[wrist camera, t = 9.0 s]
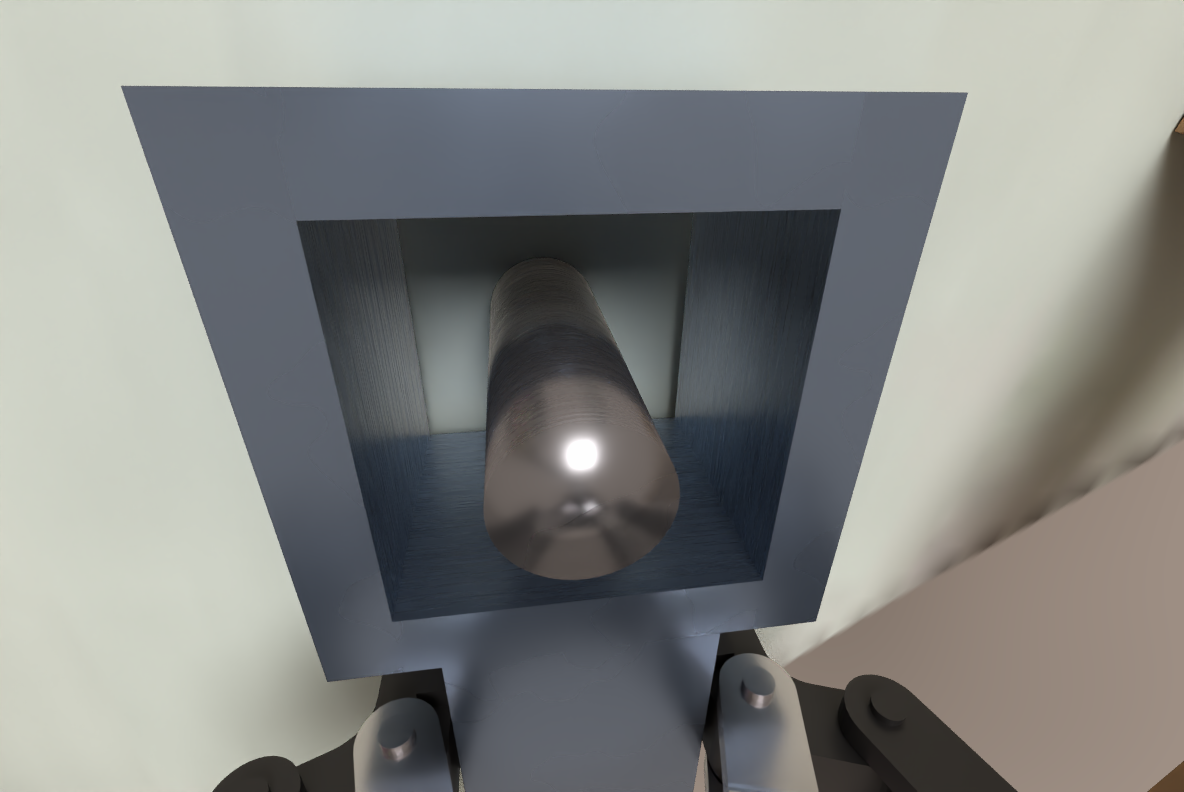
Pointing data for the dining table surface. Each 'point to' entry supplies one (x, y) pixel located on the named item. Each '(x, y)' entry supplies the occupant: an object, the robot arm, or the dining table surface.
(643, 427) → the cylinder
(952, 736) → the robot arm
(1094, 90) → the dining table surface
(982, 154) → the dining table surface
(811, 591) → the link
